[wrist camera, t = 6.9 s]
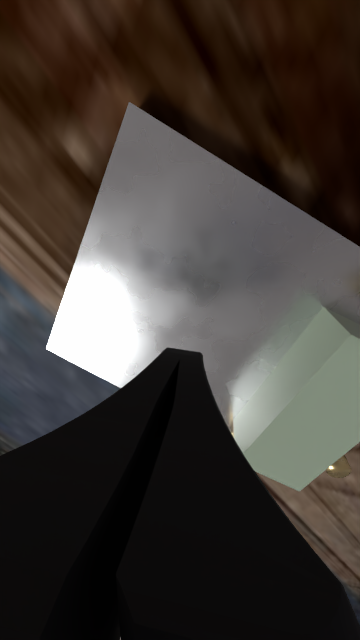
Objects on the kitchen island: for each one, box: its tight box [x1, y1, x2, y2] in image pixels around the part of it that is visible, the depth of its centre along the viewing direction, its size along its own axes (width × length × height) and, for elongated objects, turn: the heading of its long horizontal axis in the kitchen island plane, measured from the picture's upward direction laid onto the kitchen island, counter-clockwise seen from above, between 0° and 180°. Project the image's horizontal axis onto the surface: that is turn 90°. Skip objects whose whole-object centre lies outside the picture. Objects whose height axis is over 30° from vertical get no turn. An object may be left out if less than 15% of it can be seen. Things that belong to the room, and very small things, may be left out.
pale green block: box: [233, 307, 360, 491], centre depth 13 cm, size 4×9×3 cm, turn 156°
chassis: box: [46, 102, 360, 478], centre depth 13 cm, size 19×14×4 cm
